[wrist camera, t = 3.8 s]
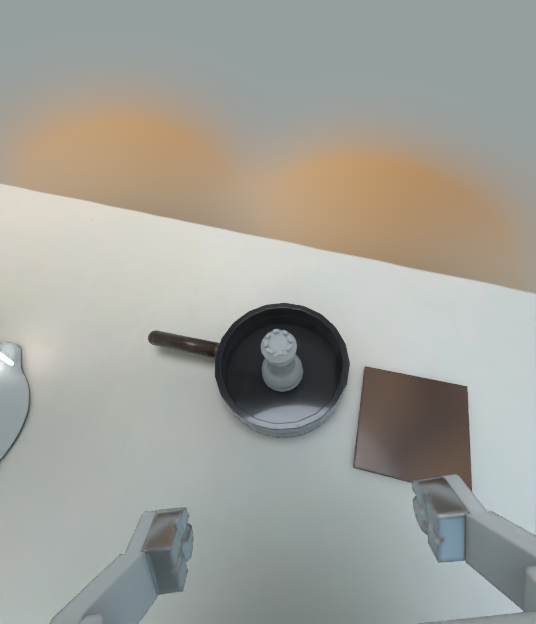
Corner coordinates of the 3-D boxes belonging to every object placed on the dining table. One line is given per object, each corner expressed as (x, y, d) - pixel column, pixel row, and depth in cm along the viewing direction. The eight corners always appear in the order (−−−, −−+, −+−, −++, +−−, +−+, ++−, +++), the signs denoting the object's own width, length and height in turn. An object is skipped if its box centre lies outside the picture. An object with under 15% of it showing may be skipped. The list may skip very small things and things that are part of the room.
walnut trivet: (353, 467, 31) (354, 466, 30) (364, 368, 35) (365, 366, 35) (469, 497, 29) (472, 497, 28) (464, 388, 33) (467, 386, 33)
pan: (206, 420, 34) (196, 410, 31) (242, 312, 40) (236, 294, 37) (334, 452, 31) (338, 445, 28) (351, 331, 38) (356, 314, 34)
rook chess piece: (281, 401, 34) (277, 376, 27) (253, 372, 36) (242, 341, 29) (311, 373, 35) (314, 341, 28) (283, 346, 37) (279, 310, 30)
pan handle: (149, 346, 36) (143, 339, 35) (155, 333, 37) (149, 326, 36) (223, 361, 35) (220, 355, 33) (227, 348, 36) (224, 341, 34)
